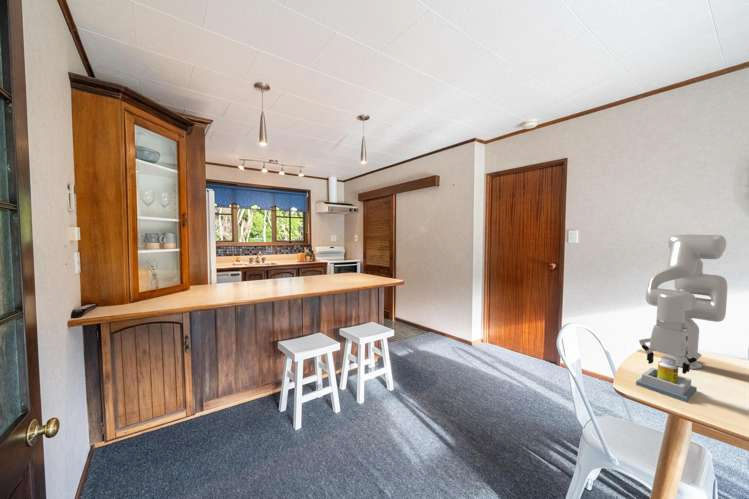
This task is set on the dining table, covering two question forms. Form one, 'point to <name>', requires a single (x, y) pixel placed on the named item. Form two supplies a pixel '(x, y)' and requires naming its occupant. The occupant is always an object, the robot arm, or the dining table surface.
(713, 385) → the dining table surface
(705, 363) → the dining table surface
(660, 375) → the supplement bottle
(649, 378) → the tray
